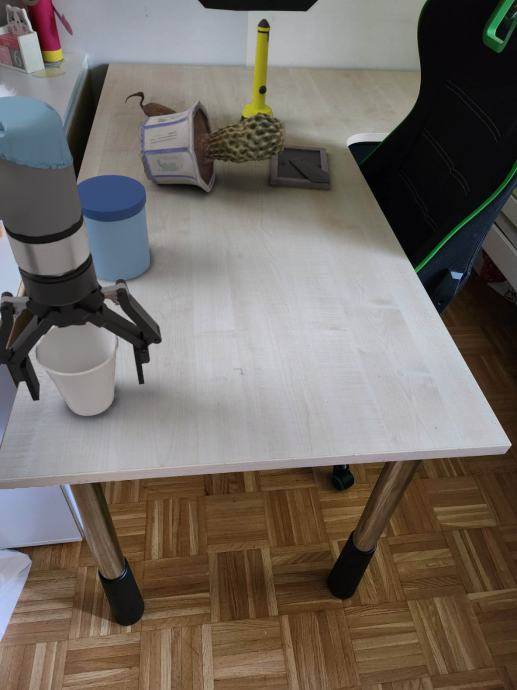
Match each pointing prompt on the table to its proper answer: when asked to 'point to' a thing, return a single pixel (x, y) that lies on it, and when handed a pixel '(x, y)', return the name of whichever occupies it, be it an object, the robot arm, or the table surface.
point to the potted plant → (203, 145)
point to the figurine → (152, 107)
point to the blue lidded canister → (116, 225)
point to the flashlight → (259, 74)
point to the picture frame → (300, 168)
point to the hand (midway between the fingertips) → (89, 384)
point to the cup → (80, 365)
